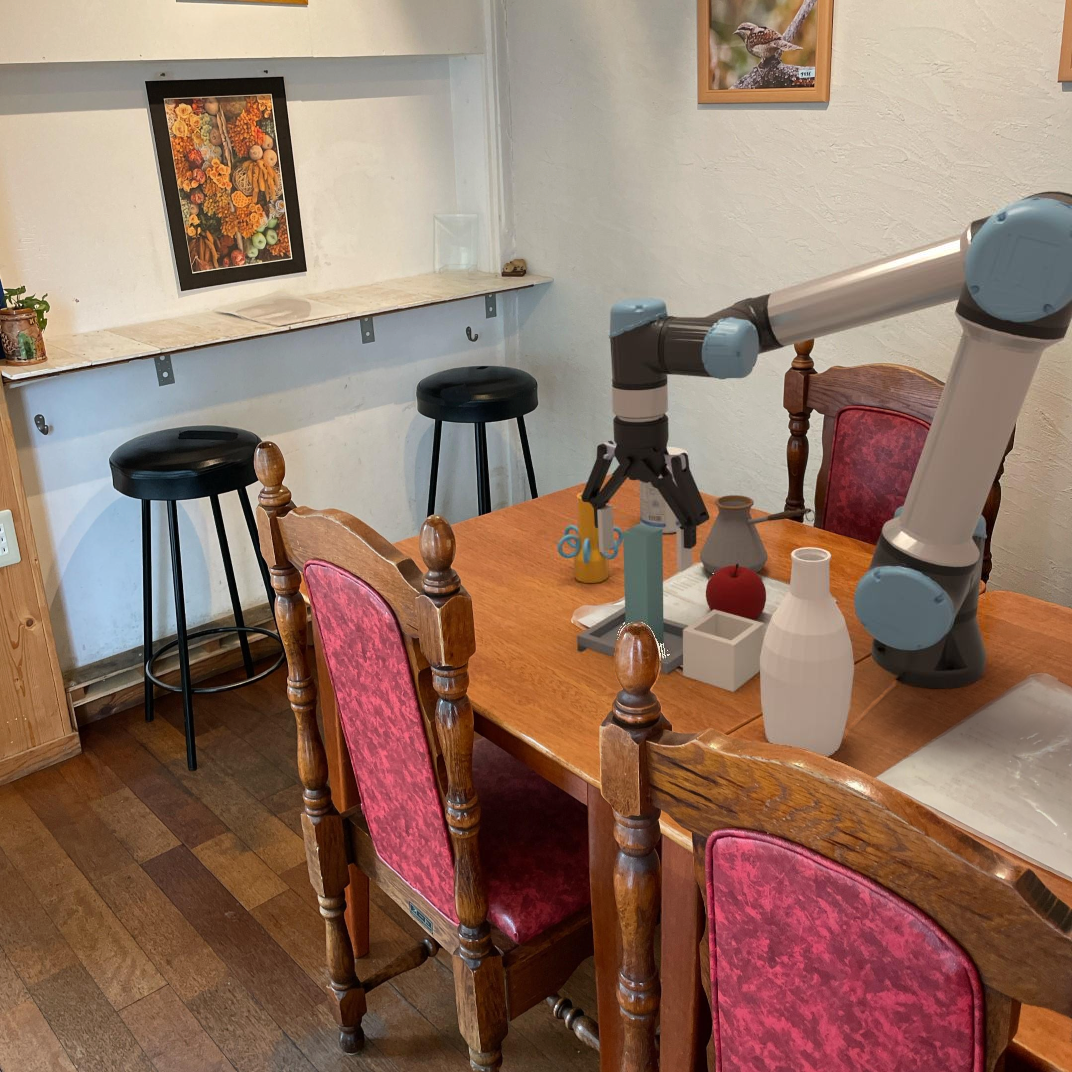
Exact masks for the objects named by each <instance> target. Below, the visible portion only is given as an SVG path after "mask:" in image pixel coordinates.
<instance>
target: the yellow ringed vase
mask: <svg viewBox="0 0 1072 1072" xmlns="http://www.w3.org/2000/svg"><path fill="white" fill-rule="evenodd" d="M583 492H584V491H583ZM583 492H579V493H578V494H576V505H577V506H576V510H577V525H573V524H570V525H567V526H565V529H564V534H563V535H564V536H563V537H562V536H561V538H560V540H559V541H558V543H557V552H558V554H559V555H560V556H561V557H562V558H563V559H571V558H573V568H574V569H573V570H574V571H573V572H574V578H575V580H576V581H578V582H580V583H584V584H597V583H601V582H604V581H606V580H608V579H609V575H610V567H609V566H610V565H609V563H610V562H609V560H614V559H615V558H617V556H618V554H619V547H620V546H621V544H623V530H622V529H621V528H620V527H618V526H615V525H613V528H614V532H617V535H618V539H617V540H616V539H615V538H614V547H613V548H611V549H609V550H610V551H612V550H613V552H612V554H609V553H608V551H609V550H607V551H605V552H599V536H598V528H596V527H595V524H594V508H593V507H592V505H591V504H590V503H588V502H583V501H582V498H581V497H582V494H583ZM571 530H573V531H575V532H576V534H577V535H576V534H570V531H571ZM572 540H573V541H574V542H575V543H574V542H573V541H572ZM565 542H566V544H567V545H568V546H569V547H570V548H572V549H574V550H573V551H572V552H571V553H565V552H564V551H563V545H564V544H565Z"/></svg>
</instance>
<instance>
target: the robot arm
mask: <svg viewBox="0 0 1072 1072" xmlns="http://www.w3.org/2000/svg"><path fill="white" fill-rule="evenodd" d="M954 301H955V302H956V301H957V304H956V308H955V311H954V315H955V317H956V318H957V320H958V322H959V324H960V326H961V328H962V334H961V336H960V340H959V342H958V346H957V349H956V351H955V354H954V357H953V359H952V363H951V366H950V369H949V371H948V375H947V378H946V381H945V384H944V387H943V389H942V393H941V396H940V398H939V401H938V403H937V407H936V410H935V413H934V416H933V418H932V422H931V425H930V428H929V431H928V433H927V436H926V440H925V442H924V445H923V447H922V451H921V454H920V457H919V460H918V462H917V465H916V469H915V472H914V474H913V478H912V479H911V480H912V481H911V484H910V486H909V488H908V489H909V490H908V492H907V495H906V498H905V501H904V505H901V506H899V507H898V508H896V509H895V512H894V515H893V518H891V519H889V520H887V521H886V522H885V523H884V524H883V526H882V528H881V532H880V535H879V537H878V539H877V542H876V543H877V544H876V546H875V549H874V551H873V555H872V558H871V561H870V564H869V565H868V569H867V570H866V571H867V572H866V573H864V574H863V575H862V576H861V578H860V579H859V580H858V582H857V585H856V587H855V588H856V589H855V592H854V598H853V603H854V605H853V606H854V611H855V614H856V617H857V619H858V620H859V621H860V624H861V625H862V626H863V628H864V630H866V632H867V634H869V635H870V636H872V637H873V639H872V641H871V648H870V651H871V652H870V653H871V657H872V659H873V660H874V662H875V663H876V664H877V665H878V666H879V667H880V668H882V669H883V670H885V671H887V672H889V673H891V674H893V675H895V676H897V677H896V678H895V679H894V680H895V681H898V682H900V683H903V684H907V685H912V686H916V687H921V688H929V689H930V688H931V689H950V688H957V687H958V688H959V687H963V686H967V685H971V684H972V683H975V682H976V681H979V679H981V677H982V676H983V675H984V674H985V671H986V661H987V653H986V647H985V643H984V641H983V640H984V639H983V637H982V633H981V629H980V625H979V622H978V618H977V617H978V605H979V598H980V589H981V588H980V587H981V578H982V570H983V569H982V568H983V560H984V551H985V541H986V539H987V538H988V535H987V530H986V529H987V522H986V519H985V517H984V516H983V515H982V513H983V510H984V507H985V504H986V502H987V499H988V497H989V494H990V492H991V489H992V486H993V483H994V481H995V478H996V477H997V473H998V470H999V469H1000V465H1001V463H1002V461H1003V457H1004V455H1005V451H1006V450H1007V447H1008V444H1009V443H1010V442H1009V441H1010V439H1011V436H1012V433H1013V431H1014V428H1015V426H1016V423H1017V421H1018V417H1019V415H1020V412H1021V410H1022V407H1023V404H1024V403H1025V400H1026V397H1027V395H1028V391H1029V388H1030V386H1031V384H1032V381H1033V378H1034V376H1035V373H1036V370H1037V367H1038V365H1039V362H1040V361H1041V357H1042V355H1043V352H1044V351H1045V350H1046V349H1047V348H1050V347H1051V346H1054V345H1056V344H1058V343H1060V342H1062V341H1063V340H1064V339H1065V337H1066V335H1067V332H1068V329H1069V327H1070V324H1071V321H1072V194H1071V193H1070V192H1064V191H1058V190H1057V191H1056V190H1055V191H1054V190H1053V191H1042V192H1038V193H1034V194H1031V195H1028V196H1026V197H1024V198H1022V199H1020V200H1017V201H1014V202H1012V203H1010V204H1009V203H1008V204H1007V205H1006V206H1004V207H1001V208H1000V209H999V210H997V211H996V212H994V214H991V215H989V216H986V217H982V218H979V219H977V220H973V221H971V222H969V223H968V225H967V227H966V228H965V230H964V232H962V233H960V234H957V235H954V236H950V237H947V238H944V239H940V240H937V241H934V242H930V243H927V244H924V245H922V246H921V245H920V246H918V247H915V248H911V249H908V250H904V251H900V252H898V253H895V254H892V255H888V256H886V257H885V256H884V257H881V258H879V259H876V260H875V259H874V260H873V261H869V262H867V263H863V264H860V265H857V266H856V265H855V266H853V267H850V268H847V269H844V270H843V269H842V270H841V271H837V272H833V273H831V274H827V275H824V276H821V277H817V278H815V279H812V280H807V281H805V282H802V283H798V284H795V285H791V286H788V287H785V288H782V289H779V290H776V291H775V290H774V291H773V292H771V293H768V294H766V293H765V294H762V295H760V296H757V297H748V298H745V299H742V300H739V301H737V302H734V303H733V305H730V306H727V307H726V308H723V309H721V310H718V311H716V312H714V313H711V314H709V315H707V316H703V317H700V316H699V317H696V316H695V317H693V316H692V317H691V316H690V317H688V316H686V317H685V316H681V317H680V316H673V315H669V314H668V310H667V304H666V303H665V301H664V300H662V299H660V298H656V299H655V298H652V297H639V298H627V299H623V300H620V301H617V302H615V303H614V304H613V305H612V306H611V309H610V313H609V314H610V315H609V316H610V317H609V321H610V322H609V335H608V339H609V340H610V357H611V359H610V360H611V375H612V379H611V382H612V383H611V384H612V385H611V394H612V396H611V397H612V400H611V401H612V404H611V405H612V407H611V408H612V413H613V414H614V415H615V416H614V418H613V420H612V422H613V441H612V440H608V441H605V442H603V443H601V444H598V445H597V447H596V459H595V462H594V464H593V467H592V470H591V471H590V475H589V477H588V479H587V481H586V484H585V487H584V490H583V494H582V497H581V498H582V501H583V502H588V503H590V504H591V505H592V507H593V508H594V524H595V527H596V528H598V536H599V552H605V551H607V552H608V551H609V549H611V548H613V547H614V539H615V535H614V534H615V531H614V528H613V526H614V510H613V508H614V507H613V504H609V503H610V502H611V501H610V500H611V499H612V498H613V496H614V495H615V494H616V493H617V492H618V490H619V489H620V487H622V486H623V484H624V483H625V482H626V480H627V479H629V481H638V482H639V481H642V482H645V483H648V482H650V483H651V484H652V486H653V487H654V488H657V489H658V491H659V492H660V494H661V495H662V497H663V498H664V500H665V501H666V503H667V504H668V505H669V507H670V508H671V510H672V511H673V513H674V514H675V516H676V517H677V519H678V520H679V522H680V523H681V525H679V526H677V527H676V532H675V533H676V534H675V535H676V571H677V572H681V573H682V572H684V571H686V570H687V569H689V568H691V567H692V566H693V548H694V547H696V545H697V539H698V538H697V527H698V526H700V525H702V524H704V523H705V522H707V521H709V520H710V514H709V511H708V510H707V507H706V505H705V502H704V500H703V498H702V497H703V496H702V494H701V493H700V491H699V488H698V486H697V483H696V480H695V478H694V476H693V474H692V471H691V470H690V461H689V460H690V459H689V454H688V455H687V454H686V453H681V454H679V455H669V453H668V451H667V447H668V446H667V445H668V442H669V439H670V438H669V433H670V432H669V431H670V430H669V417H668V415H667V414H666V413H667V412H668V411H669V402H668V395H669V394H668V391H669V390H668V375H672V376H673V375H675V376H686V377H687V376H688V377H700V378H710V379H711V378H714V379H718V380H726V379H744V378H746V377H747V376H749V375H750V374H752V372H753V369H754V367H755V366H756V363H757V361H758V355H761V354H764V353H768V352H772V351H775V350H778V349H782V348H784V347H788V346H791V345H795V344H799V343H803V342H806V341H810V340H814V339H818V338H821V337H825V336H828V335H833V334H836V333H840V332H843V331H846V330H851V329H855V328H858V327H863V326H866V325H870V324H873V323H874V324H875V323H877V322H881V321H885V320H888V319H891V318H895V317H899V316H904V315H906V314H910V313H914V312H917V311H921V310H925V309H929V308H930V309H931V308H933V307H937V306H940V305H944V304H949V303H952V302H954ZM615 444H616V445H615ZM614 458H615V459H616V461H617V462H618V464H619V465H618V466H617V467H616V469H614V471H613V472H612V474H611V475H612V476H611V477H610V478H609V479H608V481H607V482H606V483H605V485H604V486H603V483H604V482H605V480H606V477H607V474H608V472H609V469H610V467H611V464H612V462H613V460H614ZM688 459H689V460H688ZM667 465H669V470H672V473H673V476H672V474H671V473H670V471H669V470H668V468H667V467H666V466H667ZM660 475H661V476H662V477H663V478H661V479H659V478H658V477H659V476H660ZM673 477H674V480H675V482H676V484H677V486H676V484H675V483H674V481H673Z"/></svg>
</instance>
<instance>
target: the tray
mask: <svg viewBox="0 0 1072 1072" xmlns="http://www.w3.org/2000/svg"><path fill="white" fill-rule="evenodd" d="M624 622H625V606H624V607H622V608H620V609H618V610H617V611H615V612H613V613H612V614H610V615H608V616H607V617H605V618H604V619H602V620H600V621H599V622H597V623H596V624H594V625H592V626H590V627H589V628H587V629H586V630H583V631H582V632H580V633H579V634H577V635H576V641H577V643H576V644H577V651H579V652H580V653H581V652H583V653H584V651H586V650H587V649H589V650H592V651H595V652H599V653H601V654H605V655H608V656H610V657H612V658H615V657H614V653H615V647H616V642H617V639H618V637H619V634H620V631H621V629H622V628H623V627H624V626H625V624H624V625H623V623H624ZM621 626H622V627H621ZM663 626H664V642H662V643H661V644H663V643H664V648H665V655H666V658H665V656H664V655H663V656H664V659H663V658H662V652H661V647H660V653H661V670H660V672H659V673H662V674H664V675H669V674H670V673H671V672H673V671H674V670H675V669H677V668H678V667H680V666H681V665H683V630H684V629H685V628H687V627H688V626H689V625H687V624H684V623H680V622H677V621H673V620H671V619H667V618H664V617H663ZM620 627H621V628H620ZM619 629H620V630H619ZM618 631H619V633H618ZM617 634H618V635H617ZM659 646H660V644H659ZM664 648H663V645H662V650H663V654H664ZM667 650H668V651H667ZM667 654H670V655H669V656H667Z"/></svg>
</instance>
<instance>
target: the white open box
mask: <svg viewBox="0 0 1072 1072" xmlns="http://www.w3.org/2000/svg"><path fill="white" fill-rule="evenodd" d="M764 636H765V622H761V621H759V620H755V621H754V620H751V619H747V618H743V617H740V616H736V615H733V614H729V613H725V612H722V611H718V610H712V611H711V610H710V611H709V612H707V613H706V614H704V615H703V616H701V618H698V619H697V620H696V621H694V622H693V623H691V624H690V625H688V627H687V628H685V629H684V630H683V664H682V676H684V677H687V678H689V679H693V680H696V681H699V682H702V683H704V684H708V685H710V686H713V687H717V688H720V689H723V690H726V691H730V692H733V693H734V692H736V690H738V689H739V688H740V687H742V686H744V684H746V683H747V682H748V681H749V680H751V679H752V678H753V677H754V676H755V675H757V674H758V673H760V655H761V650H762V645H763V640H764Z"/></svg>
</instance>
